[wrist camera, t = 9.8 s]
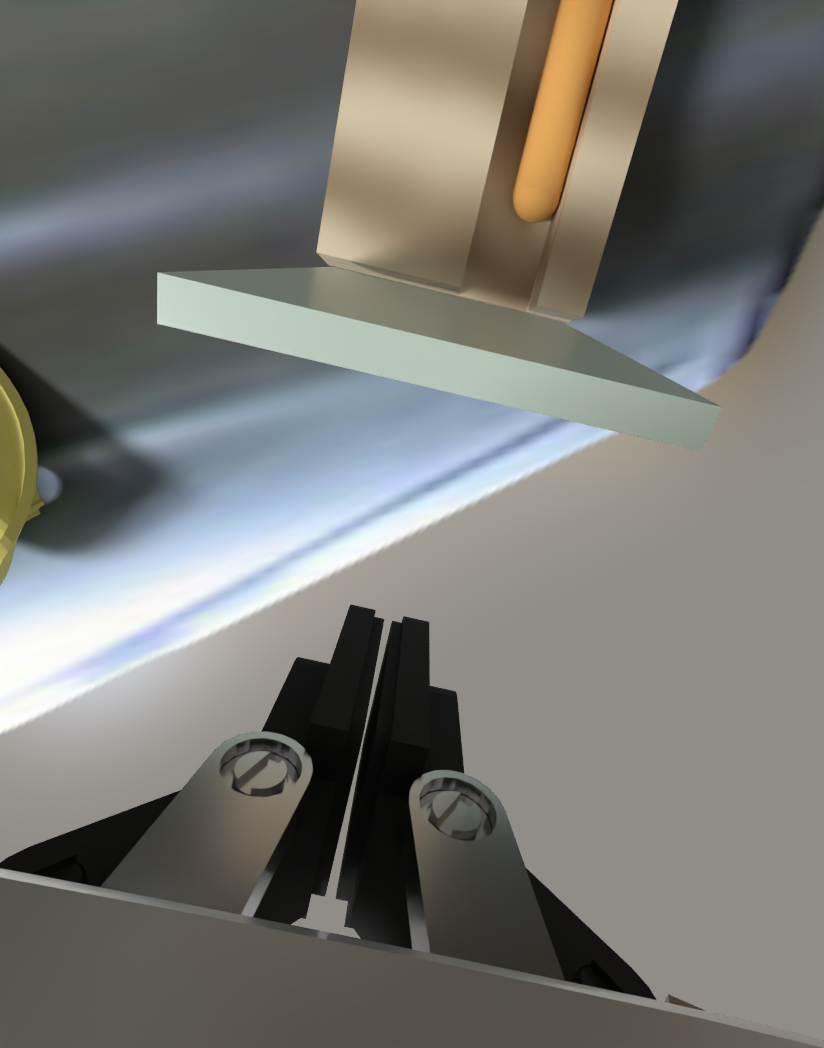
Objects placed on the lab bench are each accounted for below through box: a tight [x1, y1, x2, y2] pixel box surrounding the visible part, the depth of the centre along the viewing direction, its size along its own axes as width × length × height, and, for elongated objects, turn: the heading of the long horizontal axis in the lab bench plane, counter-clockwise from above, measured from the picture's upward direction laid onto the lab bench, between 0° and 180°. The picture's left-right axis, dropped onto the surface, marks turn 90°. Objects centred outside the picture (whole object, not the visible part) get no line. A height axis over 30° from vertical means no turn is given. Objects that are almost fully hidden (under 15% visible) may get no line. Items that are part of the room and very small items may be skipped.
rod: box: [513, 0, 613, 223], centre depth 26 cm, size 14×2×2 cm, turn 167°
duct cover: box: [157, 267, 722, 451], centre depth 19 cm, size 18×12×1 cm
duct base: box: [317, 0, 678, 323], centre depth 26 cm, size 20×14×4 cm
